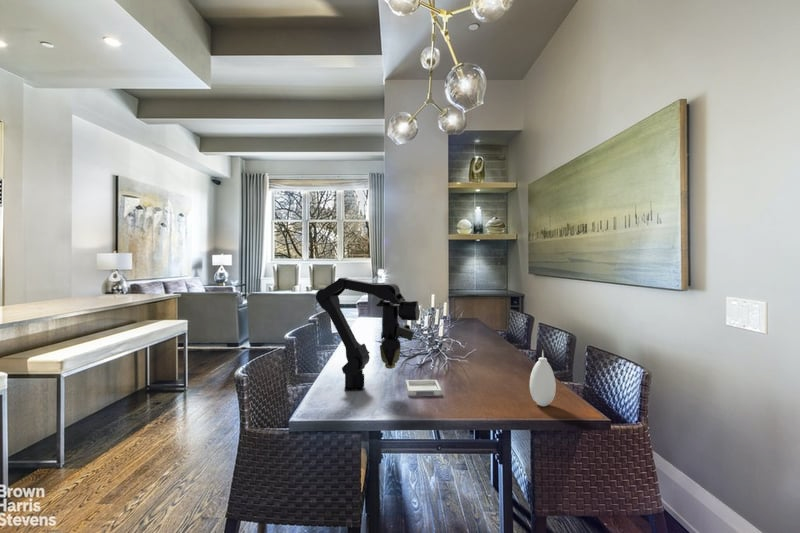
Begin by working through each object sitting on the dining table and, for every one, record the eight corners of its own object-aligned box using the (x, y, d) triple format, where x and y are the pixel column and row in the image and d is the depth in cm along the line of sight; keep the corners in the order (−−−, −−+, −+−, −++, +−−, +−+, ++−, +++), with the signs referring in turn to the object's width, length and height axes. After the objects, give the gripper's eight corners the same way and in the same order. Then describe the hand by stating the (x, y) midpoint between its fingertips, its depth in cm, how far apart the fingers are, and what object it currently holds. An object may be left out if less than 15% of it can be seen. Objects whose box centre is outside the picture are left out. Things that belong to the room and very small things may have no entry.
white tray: (408, 396, 131) (408, 390, 131) (405, 385, 143) (405, 380, 143) (441, 396, 132) (441, 390, 132) (436, 384, 144) (436, 379, 144)
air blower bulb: (525, 401, 127) (526, 347, 127) (548, 400, 128) (548, 347, 128) (535, 410, 120) (536, 353, 119) (559, 409, 120) (560, 352, 120)
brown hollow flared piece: (376, 369, 134) (376, 346, 133) (384, 364, 140) (384, 342, 140) (395, 371, 131) (395, 348, 131) (403, 366, 138) (403, 344, 137)
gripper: (415, 323, 126) (415, 370, 127) (410, 315, 145) (410, 356, 145) (381, 323, 126) (381, 370, 126) (381, 315, 144) (381, 356, 145)
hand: (390, 363), depth 136 cm, fingers closed on brown hollow flared piece, 6 cm apart
